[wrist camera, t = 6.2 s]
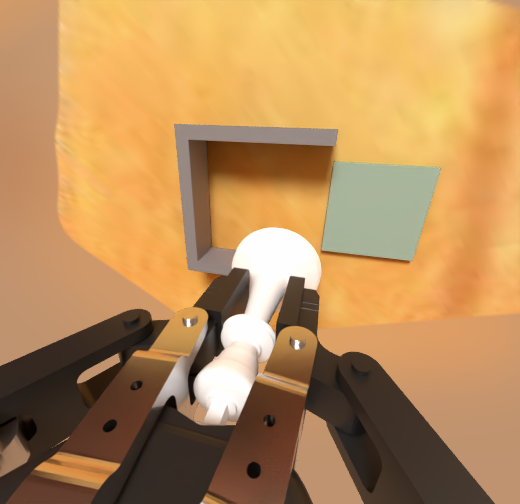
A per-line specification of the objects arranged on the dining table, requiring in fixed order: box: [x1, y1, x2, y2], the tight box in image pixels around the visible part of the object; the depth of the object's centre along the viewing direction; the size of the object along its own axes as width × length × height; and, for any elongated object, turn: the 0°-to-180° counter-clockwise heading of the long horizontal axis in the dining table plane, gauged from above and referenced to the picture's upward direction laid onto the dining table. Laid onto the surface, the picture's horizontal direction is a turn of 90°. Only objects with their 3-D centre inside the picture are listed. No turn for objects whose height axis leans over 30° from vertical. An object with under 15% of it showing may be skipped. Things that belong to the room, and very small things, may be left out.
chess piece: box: [193, 228, 321, 425], centre depth 10 cm, size 5×5×10 cm
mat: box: [321, 161, 441, 261], centre depth 26 cm, size 9×9×1 cm
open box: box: [174, 124, 338, 276], centre depth 26 cm, size 14×14×4 cm
